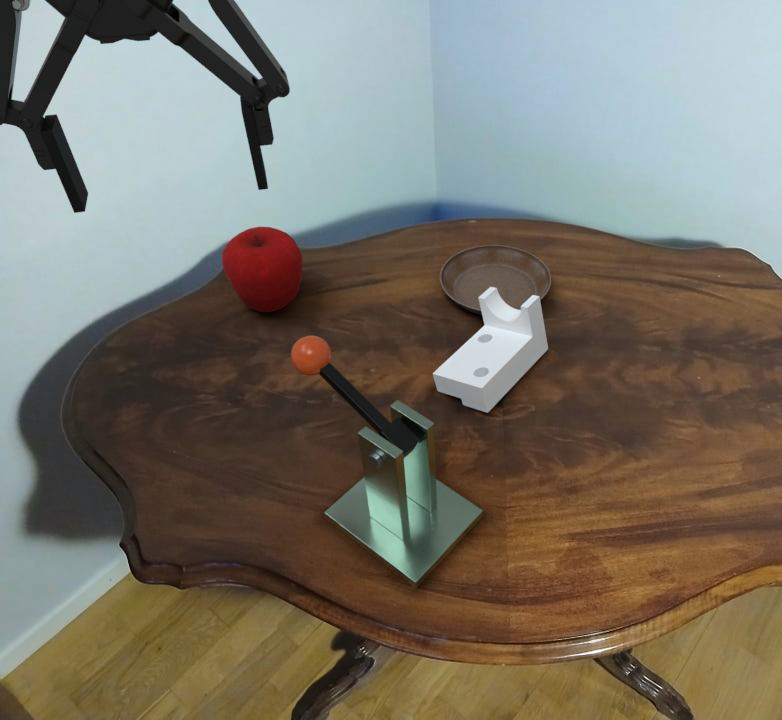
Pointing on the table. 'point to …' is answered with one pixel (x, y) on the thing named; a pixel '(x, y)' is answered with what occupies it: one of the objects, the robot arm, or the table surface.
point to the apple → (263, 268)
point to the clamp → (403, 503)
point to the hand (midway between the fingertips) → (174, 192)
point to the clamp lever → (348, 391)
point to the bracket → (494, 352)
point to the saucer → (494, 276)
